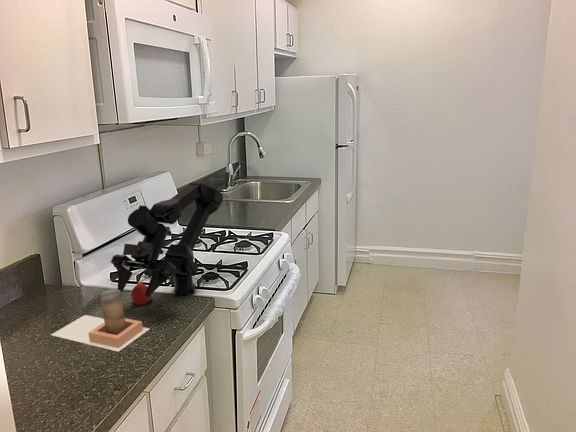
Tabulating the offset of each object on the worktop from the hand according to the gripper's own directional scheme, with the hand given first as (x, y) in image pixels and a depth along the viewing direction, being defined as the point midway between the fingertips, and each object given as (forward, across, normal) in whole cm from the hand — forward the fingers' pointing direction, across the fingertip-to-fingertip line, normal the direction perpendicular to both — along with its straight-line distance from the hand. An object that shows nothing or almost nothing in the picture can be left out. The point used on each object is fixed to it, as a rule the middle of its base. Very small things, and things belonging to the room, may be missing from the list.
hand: (132, 294), depth 133 cm
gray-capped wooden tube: (+11, 0, 0) cm, 11 cm away
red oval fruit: (0, -6, +14) cm, 16 cm away
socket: (+11, 0, 0) cm, 11 cm away
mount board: (+12, -6, +1) cm, 13 cm away
